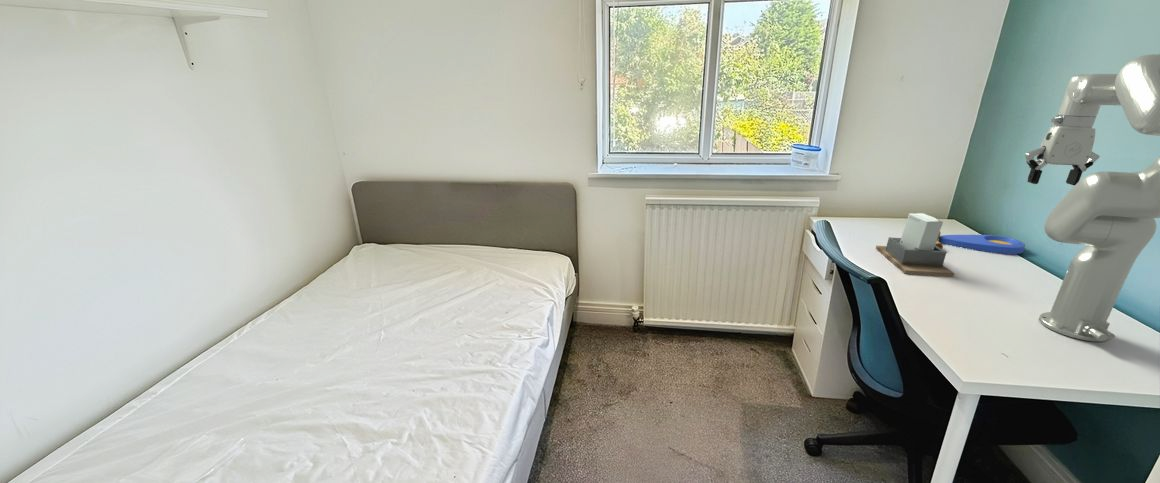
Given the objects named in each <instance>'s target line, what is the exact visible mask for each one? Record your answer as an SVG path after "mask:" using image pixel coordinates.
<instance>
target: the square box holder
mask: <svg viewBox="0 0 1160 483" xmlns="http://www.w3.org/2000/svg"><path fill="white" fill-rule="evenodd" d="M900 240H901V237H888V239H887V244H886V245H875V250H876V251H878V252H879V253H880V254H881V255H883V256H884V257H885V259H887V260H888V261H889V262H890V263H892V264H893V265H894V267H896V268H897V269H898V270H900V271H901V272H902V273H903V274H905V275H915V276H916V275H919V276H920V275H921V276H931V277H932V276H934V277H951V278H954V276H955V272H953V271H952V270H951V269H949V268H948V267H946V266H945V265H944V262H945V259H946V256H947V252H946V251H945V250H943V248H942V249H941V248H939V247H938V246H936V245H935V247H934V250H933V251H931V250H914V249H906V248H905V247H904V246H902V245H901V244H900Z"/></svg>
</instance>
